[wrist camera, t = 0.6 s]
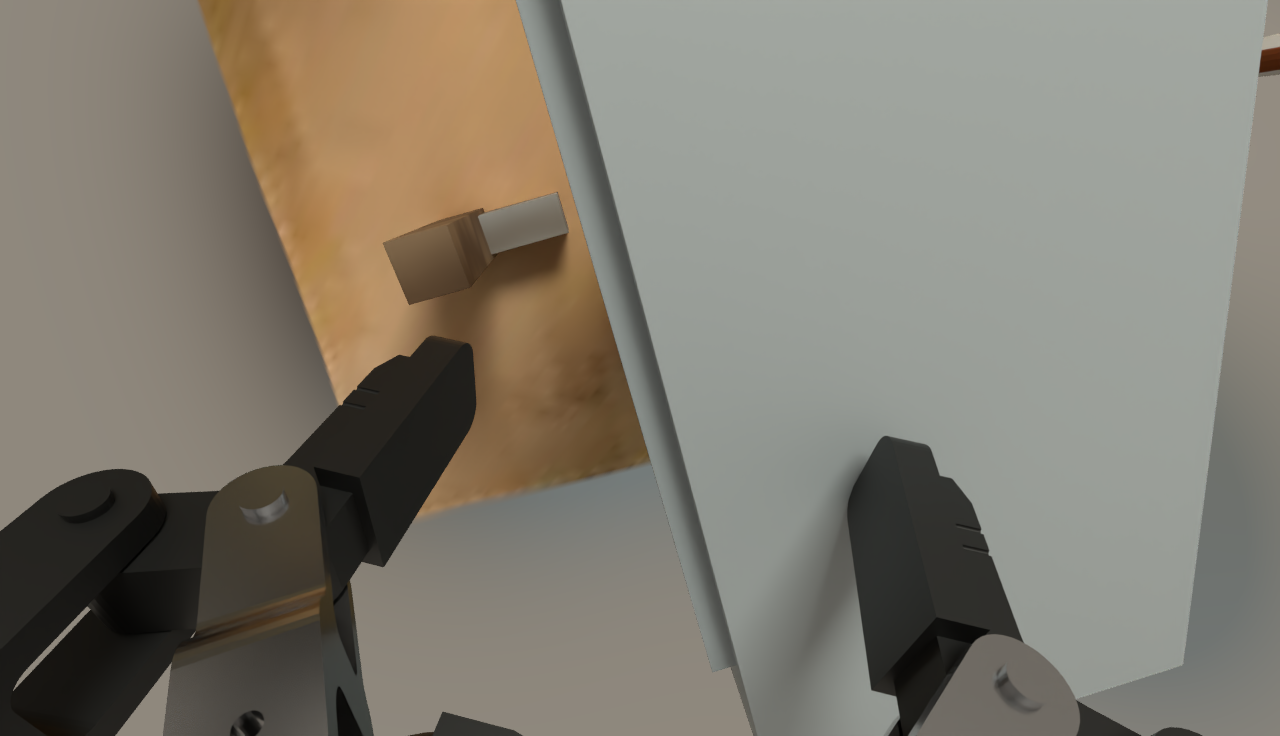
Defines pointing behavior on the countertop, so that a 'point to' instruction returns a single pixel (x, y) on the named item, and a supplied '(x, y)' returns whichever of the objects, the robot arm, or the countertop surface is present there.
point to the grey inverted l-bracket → (914, 300)
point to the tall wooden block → (469, 245)
